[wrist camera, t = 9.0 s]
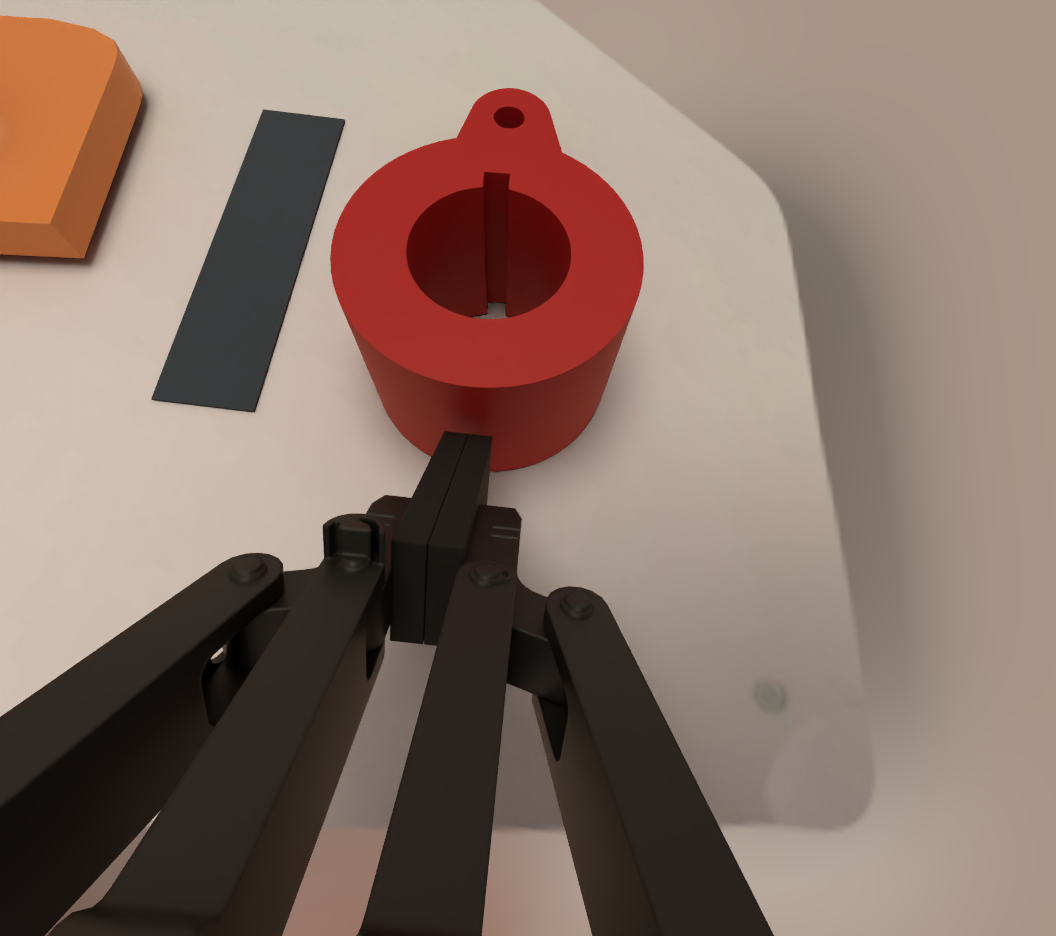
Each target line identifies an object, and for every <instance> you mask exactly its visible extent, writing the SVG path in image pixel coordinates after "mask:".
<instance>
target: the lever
mask: <svg viewBox="0 0 1056 936" xmlns="http://www.w3.org/2000/svg"><path fill="white" fill-rule="evenodd" d="M330 260H331V274H332V279H333V284H334V288H335V291H336V294H337V297H338V300H339V302H340V305H341V307H342V309H343V312H344V314H345V316H346V319H347V321H348V323H349V326H350V328H351V330H352V333H353V335H354V337H355V340H356V342H357V345H358V347H359V349H360V352H361V354H362V356H363V359H364V361H365V363H366V366H367V368H368V370H369V373H370V375H371V378H372V380H373V382H374V385H375V387H376V389H377V392H378V394H379V396H380V399H381V401H382V403H383V406H384V408H385V410H386V412H387V414H388V416H389V417H390V419H391V420H392V422H393V423H394V425H395V426H396V427H397V429H398V430H399V431H400V432H401V433H402V435H403V436H404V437H406V438H407V439H408V440H409V441H410V442H411V443H412V444H413V445H415V446H416V447H417V448H419V449H420V450H421V451H423V452H425V453H426V454H428V455H430V456H431V457H432V455H433V453H434V451H435V449H436V447H437V445H438V443H439V441H440V439H441V437H442V435H443V433H444V431H449V432H458V433H467V434H468V435H469V434H475V435H484V436H493V439H492V450H491V461H490V471H505V470H513V469H518V468H523V467H526V466H529V465H533V464H536V463H538V462H540V461H543V460H545V459H547V458H549V457H551V456H553V455H555V454H556V453H558V452H559V451H561V450H562V449H564V448H565V447H567V446H568V445H569V444H570V443H571V442H572V441H574V440H575V439H576V438H577V437H578V436H579V435H580V433H581V432H582V431H583V430H584V429H585V428H586V426H587V425H588V423H589V422H590V421H591V419H592V417H593V415H594V413H595V412H596V410H597V407H598V405H599V402H600V400H601V397H602V394H603V391H604V389H605V386H606V383H607V381H608V378H609V375H610V372H611V370H612V367H613V364H614V362H615V359H616V356H617V353H618V351H619V348H620V345H621V342H622V340H623V337H624V334H625V332H626V329H627V326H628V323H629V321H630V318H631V315H632V313H633V310H634V307H635V304H636V302H637V299H638V296H639V293H640V289H641V285H642V279H643V269H644V265H643V250H642V244H641V240H640V236H639V233H638V229H637V227H636V225H635V222H634V220H633V218H632V216H631V214H630V212H629V210H628V209H627V207H626V205H625V204H624V202H623V201H622V200H621V198H620V197H619V196H618V194H617V193H616V192H615V191H614V190H613V189H612V188H611V187H610V186H609V184H608V183H607V182H605V181H604V180H603V179H602V178H601V177H600V176H599V175H598V174H596V173H595V172H594V171H592V170H591V169H589V168H588V167H587V166H585V165H584V164H582V163H580V162H579V161H577V160H575V159H574V158H572V157H570V156H568V155H566V154H564V153H562V151H561V148H560V144H559V141H558V138H557V134H556V131H555V128H554V125H553V121H552V118H551V115H550V112H549V109H548V107H547V106H546V105H545V103H544V102H543V101H542V100H541V99H539V98H538V97H537V96H535V95H533V94H531V93H529V92H527V91H524V90H520V89H514V88H505V89H498V90H494V91H491V92H489V93H487V94H485V95H483V96H482V97H480V98H479V99H478V100H477V101H476V102H475V104H474V105H473V107H472V109H471V111H470V113H469V115H468V117H467V119H466V121H465V123H464V125H463V126H462V128H461V130H460V132H459V134H458V136H457V138H454V139H449V140H444V141H439V142H436V143H432V144H429V145H425V146H423V147H420V148H417V149H415V150H412V151H410V152H408V153H406V154H404V155H402V156H399V157H397V158H396V159H394V160H393V161H391V162H389V163H388V164H386V165H384V166H383V167H382V168H380V169H379V170H378V171H376V172H375V173H374V174H373V175H371V176H370V177H369V178H368V179H367V180H366V181H365V182H364V183H363V184H362V185H361V186H360V187H359V189H358V190H357V191H356V192H355V193H354V194H353V196H352V197H351V199H350V200H349V202H348V203H347V205H346V206H345V208H344V210H343V212H342V214H341V216H340V218H339V220H338V223H337V226H336V228H335V231H334V236H333V240H332V245H331V257H330ZM488 301H490V302H503V303H506V316H510V317H509V318H503V319H477V318H471V317H473V316H477V315H482V314H487V305H488Z"/></svg>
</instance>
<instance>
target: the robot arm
mask: <svg viewBox="0 0 1056 936" xmlns="http://www.w3.org/2000/svg"><path fill="white" fill-rule="evenodd" d="M492 439H493V436H484V435H475V434H469V435H468V434H467V433H458V432H449V431H444V433H443V435H442V437H441V439H440V441H439V443H438V445H437V447H436V449H435V451H434V453H433V455H432V457H431V459H430V462H429V464H428V466H427V468H426V470H425V472H424V474H423V476H422V478H421V480H420V482H419V484H418V486H417V488H416V490H415V492H414V494H413V496H412V498H407V497H398V496H389V495H385V496H383V497H381V498H380V499H378V500H377V501H375V502H373V503H372V504H371V506H370V508H369V509H368V511H367V513H366V514H346V515H340V516H337V517H335V518H332V519H330V520H329V521H327V522H326V523H325V524H324V525H323V541H324V559H323V561H322V562H321V564H320V565H319V567H317V568H313V569H306V570H296V571H285V572H283V564H282V562H281V561H280V560H279V558H276V557H274V556H272V555H270V554H263V553H249V554H243V555H240V556H236V557H232V558H230V559H228V560H226V561H224V562H223V563H221V564H219V565H218V566H216V567H215V568H214V569H212V570H211V571H209V572H208V573H206V574H205V575H204V576H202V577H201V578H199V579H198V580H196V581H195V582H193V583H192V584H191V585H189V586H188V587H186V588H185V589H183V590H182V591H181V592H179V593H178V594H176V595H175V596H173V597H172V598H171V599H169V600H168V601H166V602H165V603H163V604H162V605H160V606H159V607H158V608H156V609H155V610H153V611H152V612H150V613H149V614H148V615H146V616H145V617H143V618H142V619H140V620H139V621H137V622H136V623H135V624H133V625H132V626H130V627H129V628H127V629H126V630H125V631H123V632H122V633H120V634H119V635H117V636H116V637H114V638H113V639H112V640H110V641H109V642H107V643H106V644H104V645H103V646H102V647H100V648H99V649H97V650H96V651H94V652H93V653H92V654H90V655H89V656H87V657H86V658H84V659H83V660H81V661H80V662H79V663H77V664H76V665H74V666H73V667H71V668H70V669H69V670H67V671H66V672H64V673H63V674H61V675H60V676H58V677H57V678H56V679H54V680H53V681H51V682H50V683H48V684H47V685H46V686H44V687H43V688H41V689H40V690H38V691H37V692H35V693H34V694H33V695H31V696H30V697H28V698H27V699H25V700H24V701H23V702H21V703H20V704H18V705H17V706H15V707H14V708H13V709H11V710H10V711H8V712H7V713H5V714H4V715H2V716H1V717H0V936H45V934H46V933H47V932H48V931H49V930H50V929H51V928H52V927H53V926H54V925H55V924H56V923H57V922H58V920H59V919H60V918H61V917H62V916H63V915H64V914H65V913H66V912H67V911H68V909H70V907H71V906H72V905H73V904H74V903H75V902H76V901H77V900H78V899H79V898H80V897H81V896H82V894H84V892H85V891H86V890H87V889H88V888H89V887H90V886H91V885H92V884H93V883H94V882H95V880H96V879H97V878H98V877H99V876H100V875H101V874H102V873H103V872H104V871H105V870H106V869H107V868H108V867H109V865H110V864H111V863H112V862H113V861H114V860H115V859H116V858H117V857H118V856H119V855H120V854H121V852H122V851H123V850H124V849H125V848H126V847H127V846H128V845H129V844H130V843H131V842H132V840H134V838H135V837H136V836H137V835H138V834H139V833H140V832H141V831H142V830H143V829H144V828H145V827H146V825H147V824H148V823H149V822H150V821H151V820H152V819H153V818H154V817H155V816H156V815H157V814H158V813H159V814H158V815H157V817H156V819H155V820H154V822H153V823H152V825H151V826H150V828H149V829H148V831H147V832H146V834H145V836H144V837H143V839H142V841H141V842H140V843H139V845H138V846H137V848H136V849H135V851H134V853H133V854H132V856H131V857H130V859H129V860H128V862H127V863H126V865H125V867H124V868H123V869H122V871H121V873H120V874H119V876H118V877H117V879H116V881H115V882H114V883H113V885H112V887H111V888H110V889H109V891H108V892H107V893H106V895H105V896H104V897H103V898H102V900H100V902H98V903H97V904H96V905H95V906H94V907H92V908H88V909H84V910H80V911H76V912H72V913H71V914H70V915H68V916H67V917H66V918H65V919H64V920H62V921H61V922H60V923H59V924H57V925H56V926H55V927H54V929H53V930H52V931H51V932H50V933H49V935H48V936H282V934H283V931H284V928H285V925H286V923H287V920H288V918H289V915H290V912H291V909H292V906H293V904H294V901H295V898H296V896H297V893H298V890H299V887H300V885H301V882H302V879H303V877H304V874H305V871H306V868H307V866H308V863H309V860H310V858H311V855H312V852H313V849H314V847H315V844H316V841H317V839H318V836H319V833H320V830H321V828H322V825H323V822H324V819H325V817H326V814H327V811H328V809H329V806H330V803H331V800H332V798H333V795H334V792H335V789H336V787H337V784H338V781H339V779H340V776H341V773H342V770H343V768H344V765H345V762H346V760H347V757H348V754H349V751H350V749H351V746H352V743H353V740H354V738H355V735H356V732H357V730H358V727H359V724H360V721H361V719H362V716H363V713H364V710H365V708H366V705H367V702H368V700H369V697H370V694H371V691H372V689H373V686H374V683H375V680H376V678H377V675H378V672H379V670H380V667H381V664H382V661H383V659H384V653H385V636H386V634H387V631H388V629H389V626H390V641H399V642H408V643H417V644H423V642H424V644H426V645H435V646H437V648H436V652H435V656H434V659H433V663H432V667H431V670H430V674H429V678H428V682H427V685H426V689H425V693H424V697H423V700H422V704H421V708H420V711H419V715H418V719H417V723H416V726H415V730H414V734H413V737H412V741H411V745H410V749H409V752H408V756H407V760H406V764H405V767H404V771H403V775H402V778H401V782H400V786H399V790H398V793H397V797H396V801H395V804H394V808H393V812H392V816H391V819H390V823H389V827H388V831H387V834H386V838H385V842H384V845H383V849H382V853H381V857H380V861H379V864H378V868H377V871H376V875H375V879H374V883H373V887H372V890H371V894H370V898H369V901H368V905H367V909H366V913H365V916H364V919H363V922H362V926H361V928H360V930H359V933H358V934H357V935H356V936H482V925H483V916H484V906H485V895H486V885H487V875H488V864H489V855H490V845H491V835H492V824H493V814H494V804H495V794H496V784H497V774H498V764H499V753H500V743H501V733H502V723H503V713H504V703H505V693H506V683H508V684H510V685H513V686H515V687H518V688H520V689H523V690H525V691H528V692H530V693H532V702H533V706H534V710H535V714H536V718H537V722H538V726H539V729H540V733H541V737H542V741H543V745H544V749H545V753H546V757H547V761H548V765H549V768H550V772H551V776H552V780H553V784H554V788H555V792H556V796H557V800H558V803H559V807H560V811H561V815H562V819H563V823H564V827H565V831H566V835H567V838H568V842H569V846H570V850H571V854H572V858H573V862H574V866H575V870H576V873H577V877H578V881H579V885H580V889H581V893H582V897H583V900H584V905H585V908H586V912H587V916H588V920H589V924H590V928H591V932H592V936H774V935H773V933H772V931H771V929H770V927H769V925H768V923H767V921H766V919H765V917H764V915H763V913H762V911H761V909H760V907H759V905H758V903H757V901H756V899H755V897H754V895H753V893H752V891H751V889H750V887H749V885H748V883H747V881H746V879H745V877H744V876H743V873H742V871H741V869H740V867H739V865H738V863H737V861H736V860H735V857H734V855H733V853H732V851H731V849H730V847H729V845H728V843H727V842H726V840H725V838H724V836H723V834H722V832H721V830H720V828H719V826H718V824H717V822H716V820H715V818H714V816H713V814H712V812H711V810H710V808H709V806H708V804H707V802H706V800H705V798H704V796H703V794H702V792H701V790H700V788H699V786H698V784H697V782H696V780H695V778H694V776H693V774H692V772H691V770H690V768H689V766H688V764H687V762H686V760H685V758H684V756H683V754H682V752H681V750H680V748H679V746H678V744H677V742H676V740H675V738H674V736H673V734H672V732H671V730H670V728H669V726H668V724H667V722H666V720H665V718H664V716H663V714H662V712H661V710H660V708H659V706H658V704H657V702H656V700H655V698H654V696H653V694H652V692H651V690H650V688H649V686H648V684H647V682H646V680H645V678H644V676H643V674H642V672H641V670H640V668H639V666H638V665H637V663H636V661H635V659H634V657H633V655H632V653H631V651H630V649H629V647H628V645H627V643H626V641H625V639H624V637H623V635H622V633H621V631H620V629H619V627H618V625H617V623H616V621H615V619H614V617H613V615H612V613H611V611H610V609H609V607H608V605H607V604H606V602H605V601H604V600H603V599H602V597H600V596H599V595H597V594H596V593H594V592H593V591H590V590H587V589H584V588H581V587H570V586H569V587H563V588H558V589H556V590H554V591H553V592H551V593H550V594H549V596H548V597H545V596H542V595H540V594H537V593H535V592H533V591H531V590H529V589H528V588H526V587H525V586H524V585H523V584H522V583H521V582H520V580H519V578H518V576H517V563H518V552H519V541H520V530H521V520H522V519H521V517H520V515H519V514H518V512H517V511H516V509H515V508H506V507H497V506H489V505H487V494H488V483H489V472H490V461H491V450H492ZM222 647H223V652H221V653H220V654H219V655H218V656H217V657H215V658H214V659H212V660H211V657H212V656H213V655H214V654H215V653H216V652H217V651H218V650H219V649H221V648H222ZM160 810H161V811H160ZM159 811H160V812H159Z"/></svg>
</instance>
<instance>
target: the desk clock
mask: <svg viewBox="0 0 1056 936" xmlns="http://www.w3.org/2000/svg"><path fill="white" fill-rule="evenodd" d="M142 95H143V93H142V90H141V86H140V82H139V81H138V79H137V77H136V76H135V74H134V72H133V71H132V69H131V67H130V66H129V64H128V62H127V61H126V59H125V57H124V56H123V54H122V52H121V51H120V49H119V47H118V46H117V44H116V43H115V41H114V40H112V39H111V38H109V37H107V36H105V35H103V34H102V33H100V32H98V31H96V30H95V29H92V28H87V27H83V26H79V25H74V24H70V23H65V22H61V21H57V20H52V19H42V18H27V17H11V16H0V254H4V255H25V256H46V257H67V258H84V257H85V254H86V251H87V248H88V246H89V243H90V240H91V238H92V235H93V232H94V229H95V227H96V224H97V221H98V219H99V216H100V213H101V211H102V208H103V205H104V202H105V200H106V197H107V194H108V192H109V189H110V186H111V183H112V181H113V178H114V175H115V173H116V170H117V167H118V164H119V162H120V159H121V156H122V154H123V151H124V148H125V146H126V143H127V140H128V137H129V135H130V132H131V129H132V127H133V124H134V121H135V118H136V116H137V113H138V110H139V107H140V104H141V99H142Z"/></svg>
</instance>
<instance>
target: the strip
mask: <svg viewBox="0 0 1056 936" xmlns="http://www.w3.org/2000/svg"><path fill="white" fill-rule="evenodd" d="M344 123H345V120H344V119H337V118H328V117H320V116H312V115H304V114H296V113H288V112H280V111H271V110H263V112H262V114H261V117H260V119H259V122H258V124H257V127H256V130H255V132H254V135H253V137H252V140H251V143H250V145H249V148H248V150H247V153H246V156H245V158H244V161H243V163H242V166H241V168H240V171H239V174H238V176H237V179H236V181H235V184H234V187H233V189H232V192H231V194H230V197H229V199H228V202H227V205H226V207H225V210H224V212H223V215H222V218H221V220H220V223H219V225H218V228H217V230H216V233H215V236H214V238H213V241H212V243H211V246H210V249H209V251H208V254H207V256H206V259H205V261H204V264H203V267H202V269H201V272H200V274H199V277H198V280H197V282H196V285H195V287H194V290H193V292H192V295H191V298H190V300H189V303H188V305H187V308H186V311H185V313H184V316H183V318H182V321H181V323H180V326H179V329H178V331H177V334H176V336H175V339H174V342H173V344H172V347H171V349H170V352H169V354H168V357H167V360H166V362H165V365H164V367H163V370H162V373H161V375H160V378H159V380H158V383H157V386H156V388H155V391H154V393H153V396H152V398H151V399H152V400H157V401H166V402H174V403H183V404H191V405H200V406H208V407H217V408H225V409H234V410H242V411H251V412H255V409H256V405H257V402H258V399H259V396H260V393H261V389H262V386H263V383H264V380H265V377H266V373H267V370H268V367H269V364H270V360H271V357H272V354H273V351H274V348H275V344H276V341H277V338H278V335H279V332H280V328H281V325H282V322H283V319H284V315H285V312H286V309H287V306H288V303H289V299H290V296H291V293H292V290H293V286H294V283H295V280H296V277H297V274H298V270H299V267H300V264H301V261H302V258H303V254H304V251H305V248H306V245H307V241H308V238H309V235H310V232H311V229H312V225H313V222H314V219H315V216H316V213H317V209H318V206H319V203H320V200H321V196H322V193H323V190H324V187H325V184H326V180H327V177H328V174H329V171H330V168H331V164H332V161H333V158H334V155H335V151H336V148H337V145H338V142H339V139H340V135H341V132H342V129H343V126H344Z"/></svg>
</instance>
